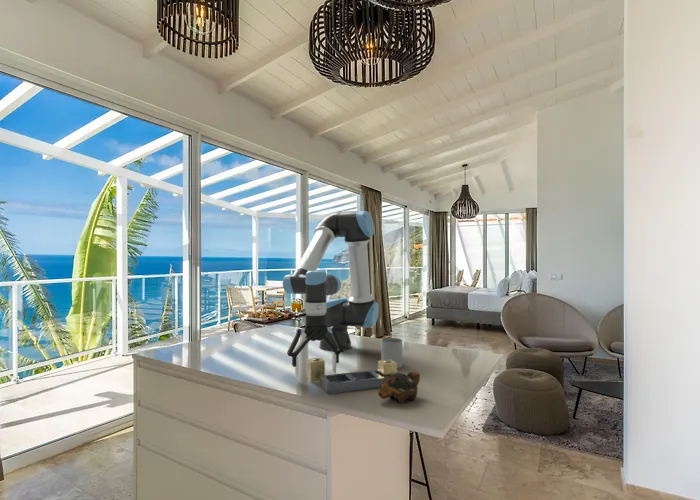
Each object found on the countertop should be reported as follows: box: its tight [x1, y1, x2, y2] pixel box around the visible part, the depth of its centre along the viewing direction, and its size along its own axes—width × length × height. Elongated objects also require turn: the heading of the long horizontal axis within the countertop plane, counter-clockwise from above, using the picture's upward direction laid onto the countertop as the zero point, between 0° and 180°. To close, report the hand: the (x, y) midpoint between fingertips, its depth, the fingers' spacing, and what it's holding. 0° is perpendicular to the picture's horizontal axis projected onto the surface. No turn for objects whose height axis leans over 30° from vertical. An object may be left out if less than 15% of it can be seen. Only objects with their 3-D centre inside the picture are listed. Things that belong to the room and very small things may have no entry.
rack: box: [319, 369, 403, 395], centre depth 135 cm, size 9×28×3 cm, turn 108°
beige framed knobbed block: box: [377, 359, 398, 377], centre depth 138 cm, size 5×5×7 cm
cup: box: [380, 337, 403, 369], centre depth 158 cm, size 8×8×10 cm
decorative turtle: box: [377, 370, 421, 404], centre depth 121 cm, size 10×15×8 cm, turn 126°
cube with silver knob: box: [307, 357, 326, 383], centre depth 141 cm, size 5×5×7 cm
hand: (315, 374), depth 140 cm, fingers open, 13 cm apart
